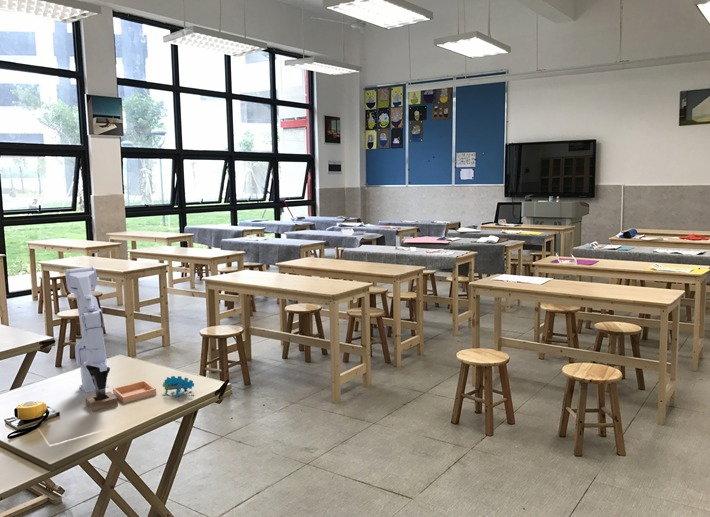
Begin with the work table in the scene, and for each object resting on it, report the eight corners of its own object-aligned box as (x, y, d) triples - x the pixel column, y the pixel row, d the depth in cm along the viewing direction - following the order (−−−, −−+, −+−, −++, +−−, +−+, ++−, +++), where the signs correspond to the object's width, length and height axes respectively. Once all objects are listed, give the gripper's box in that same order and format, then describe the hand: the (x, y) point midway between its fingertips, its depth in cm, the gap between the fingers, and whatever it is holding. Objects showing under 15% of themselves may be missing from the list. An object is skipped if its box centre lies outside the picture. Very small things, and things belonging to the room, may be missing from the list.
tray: (113, 395, 211) (112, 388, 211) (145, 387, 218) (144, 380, 218) (123, 404, 203) (122, 397, 202) (156, 395, 209) (155, 388, 209)
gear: (199, 385, 213) (185, 372, 205) (196, 400, 210) (182, 389, 202) (171, 387, 216) (157, 376, 208) (168, 403, 212) (153, 392, 205)
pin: (92, 397, 202) (89, 375, 201) (106, 393, 204) (103, 371, 203) (96, 401, 198) (93, 378, 197) (110, 397, 201) (107, 375, 200)
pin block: (86, 406, 203) (85, 397, 202) (111, 399, 207) (110, 391, 207) (93, 413, 196) (91, 404, 196) (118, 406, 201) (117, 397, 201)
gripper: (76, 345, 202) (81, 384, 204) (88, 355, 191) (93, 396, 193) (98, 340, 206) (103, 378, 208) (111, 350, 195) (116, 390, 197)
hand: (99, 386), depth 201 cm, fingers closed on pin, 4 cm apart
